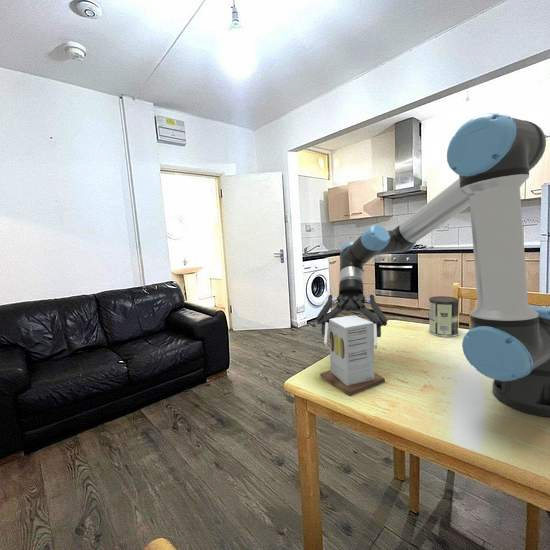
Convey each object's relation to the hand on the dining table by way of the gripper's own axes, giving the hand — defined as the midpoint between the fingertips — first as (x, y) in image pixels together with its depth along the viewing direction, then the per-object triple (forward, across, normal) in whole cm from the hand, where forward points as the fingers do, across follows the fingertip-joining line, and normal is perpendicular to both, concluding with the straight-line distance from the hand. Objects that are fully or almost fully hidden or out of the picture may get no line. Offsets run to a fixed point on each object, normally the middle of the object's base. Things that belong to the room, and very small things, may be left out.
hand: (350, 346), depth 84 cm
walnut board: (+6, 0, -10) cm, 11 cm away
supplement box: (+6, 0, -9) cm, 10 cm away
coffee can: (-26, -34, -42) cm, 60 cm away
